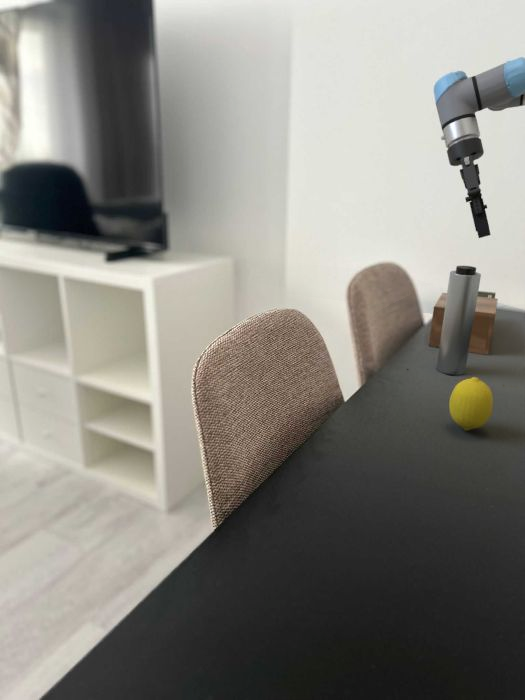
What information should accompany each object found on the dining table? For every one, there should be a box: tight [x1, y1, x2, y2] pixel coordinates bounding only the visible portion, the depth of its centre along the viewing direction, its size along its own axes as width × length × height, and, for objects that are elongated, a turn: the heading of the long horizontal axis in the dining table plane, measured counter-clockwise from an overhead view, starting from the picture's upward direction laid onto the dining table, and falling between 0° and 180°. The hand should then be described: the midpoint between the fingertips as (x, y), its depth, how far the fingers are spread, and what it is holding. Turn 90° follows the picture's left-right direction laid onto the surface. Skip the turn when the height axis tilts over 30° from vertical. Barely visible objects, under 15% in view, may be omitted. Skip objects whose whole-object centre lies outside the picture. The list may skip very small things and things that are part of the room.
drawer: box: [478, 290, 497, 298], centre depth 120 cm, size 15×10×7 cm
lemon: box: [448, 376, 494, 432], centre depth 71 cm, size 6×6×8 cm
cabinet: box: [428, 292, 498, 356], centre depth 110 cm, size 15×12×9 cm
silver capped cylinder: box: [436, 265, 482, 376], centre depth 91 cm, size 5×5×19 cm
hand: (483, 233), depth 118 cm, fingers open, 13 cm apart
